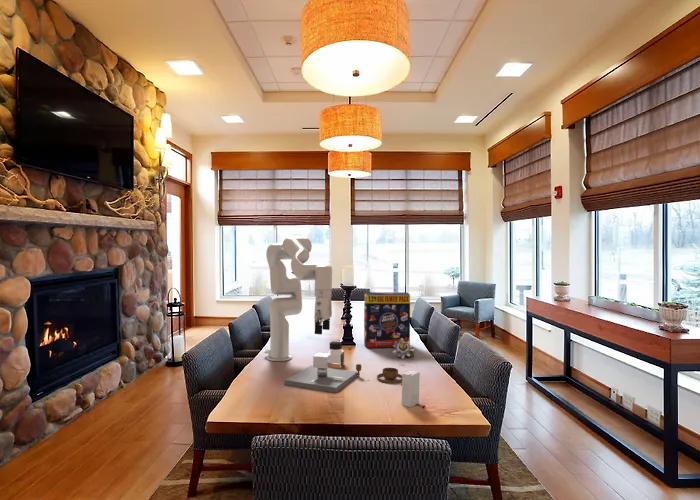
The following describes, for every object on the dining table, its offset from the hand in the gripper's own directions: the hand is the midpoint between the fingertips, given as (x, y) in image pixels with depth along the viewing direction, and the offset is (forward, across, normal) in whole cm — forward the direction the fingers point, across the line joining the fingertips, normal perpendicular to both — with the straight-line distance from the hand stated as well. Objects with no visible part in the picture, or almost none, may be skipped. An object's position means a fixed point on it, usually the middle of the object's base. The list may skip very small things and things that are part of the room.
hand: (322, 331), depth 194 cm
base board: (+21, 0, -1) cm, 21 cm away
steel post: (+19, 0, -1) cm, 19 cm away
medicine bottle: (+22, +23, +1) cm, 32 cm away
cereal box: (+22, +72, -14) cm, 77 cm away
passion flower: (+22, +51, -28) cm, 62 cm away
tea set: (+22, +12, -25) cm, 36 cm away
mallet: (+15, 0, -3) cm, 15 cm away
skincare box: (+21, -17, -42) cm, 50 cm away
